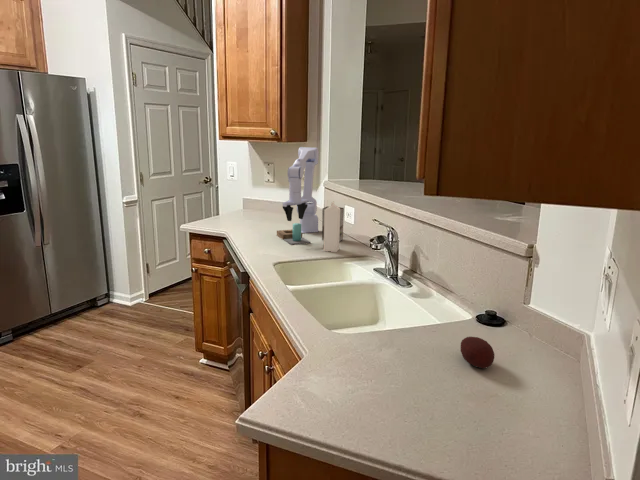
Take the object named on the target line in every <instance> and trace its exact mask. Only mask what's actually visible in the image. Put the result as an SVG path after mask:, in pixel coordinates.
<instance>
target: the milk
mask: <svg viewBox="0 0 640 480" xmlns="http://www.w3.org/2000/svg"><path fill="white" fill-rule="evenodd" d="M339 234H340V208H339V207H338V206H337V205H336V204H335V201H332V202H331V203H330V206H328V208H326V209H325V210H324V240H323V252H328V251H331V253H337V252H338V251H339V249H340V241H339Z"/></svg>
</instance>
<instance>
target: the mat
mask: <svg viewBox="0 0 640 480" xmlns="http://www.w3.org/2000/svg"><path fill="white" fill-rule="evenodd" d="M283 241H284V242H286V244H287V243H288V244H289V245H290V246H293V245H294V244H296V245H305V244H306V243H307V244H311V241H310V240H308V239H307V238H305V237H302V238H301V241H293V238H290V239H284V240H283Z"/></svg>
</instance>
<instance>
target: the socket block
mask: <svg viewBox="0 0 640 480" xmlns="http://www.w3.org/2000/svg"><path fill="white" fill-rule="evenodd" d="M276 236H277V237H278V238H280V239H281V240H283V241H284V239H290V238H293V229H283V230H282V229H281V230H276ZM301 238H303V233H301Z"/></svg>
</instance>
